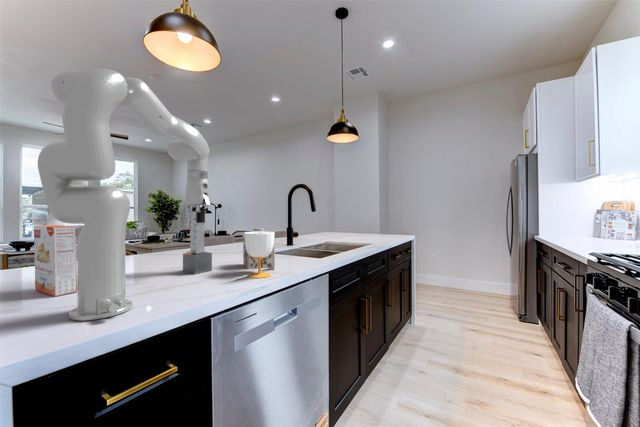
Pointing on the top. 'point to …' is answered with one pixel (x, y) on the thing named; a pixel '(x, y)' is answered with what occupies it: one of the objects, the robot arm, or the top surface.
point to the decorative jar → (252, 262)
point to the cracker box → (55, 259)
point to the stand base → (197, 263)
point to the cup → (259, 248)
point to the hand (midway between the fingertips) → (197, 222)
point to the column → (196, 235)
